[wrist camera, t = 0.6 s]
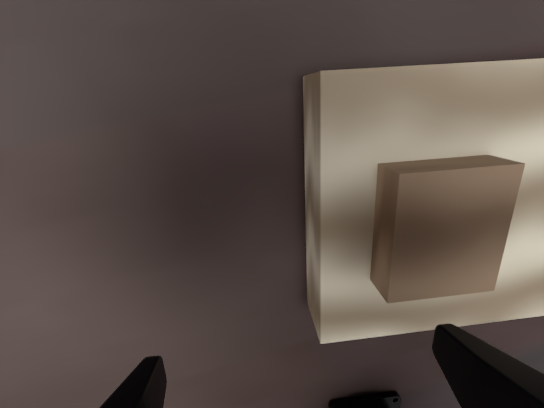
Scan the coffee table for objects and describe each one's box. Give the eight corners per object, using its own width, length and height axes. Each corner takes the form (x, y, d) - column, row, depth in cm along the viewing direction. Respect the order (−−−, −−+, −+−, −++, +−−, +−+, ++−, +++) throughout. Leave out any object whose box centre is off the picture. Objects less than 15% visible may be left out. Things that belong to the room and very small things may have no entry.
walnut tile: (465, 268, 18) (494, 290, 16) (370, 279, 18) (387, 303, 16) (487, 154, 16) (525, 163, 14) (377, 163, 15) (399, 174, 13)
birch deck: (502, 280, 24) (550, 314, 20) (307, 303, 23) (320, 344, 19) (557, 61, 18) (638, 53, 15) (302, 76, 17) (320, 70, 13)
